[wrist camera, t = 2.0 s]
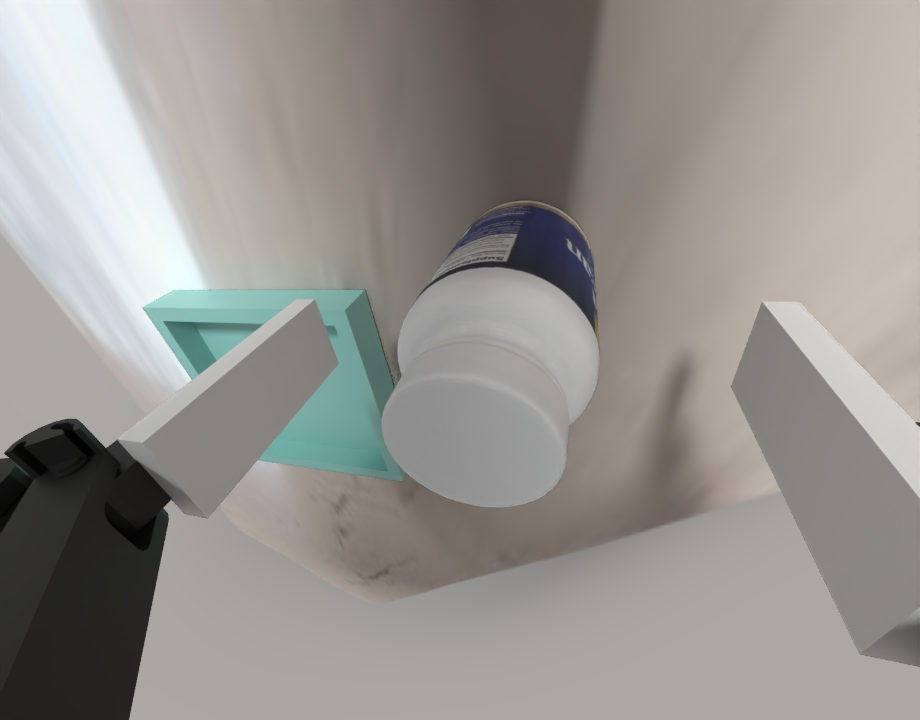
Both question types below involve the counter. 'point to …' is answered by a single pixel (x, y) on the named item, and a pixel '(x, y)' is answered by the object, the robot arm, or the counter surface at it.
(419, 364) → the pill bottle
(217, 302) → the tray
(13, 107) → the counter surface
